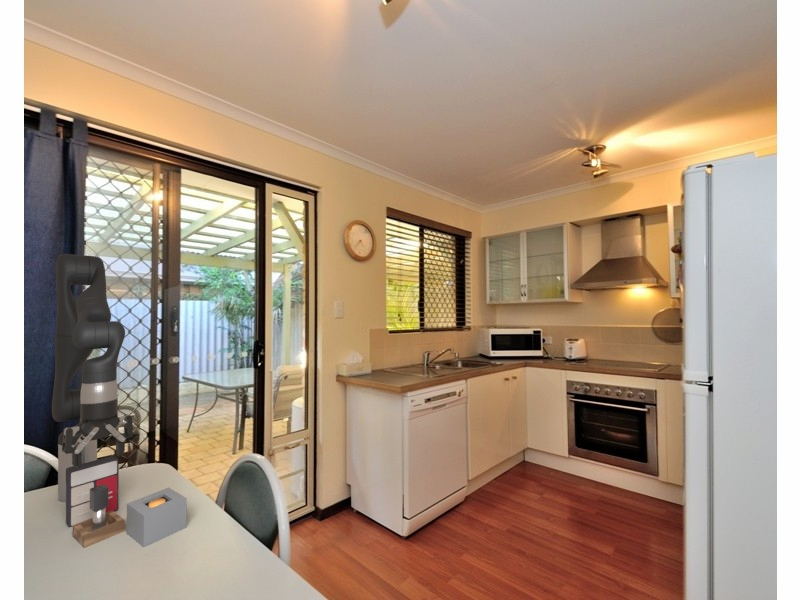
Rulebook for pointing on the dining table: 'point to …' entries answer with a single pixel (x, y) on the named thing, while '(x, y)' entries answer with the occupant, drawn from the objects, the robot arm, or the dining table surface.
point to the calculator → (86, 479)
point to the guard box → (156, 517)
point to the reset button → (156, 502)
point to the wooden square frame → (89, 538)
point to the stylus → (98, 505)
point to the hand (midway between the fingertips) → (99, 461)
